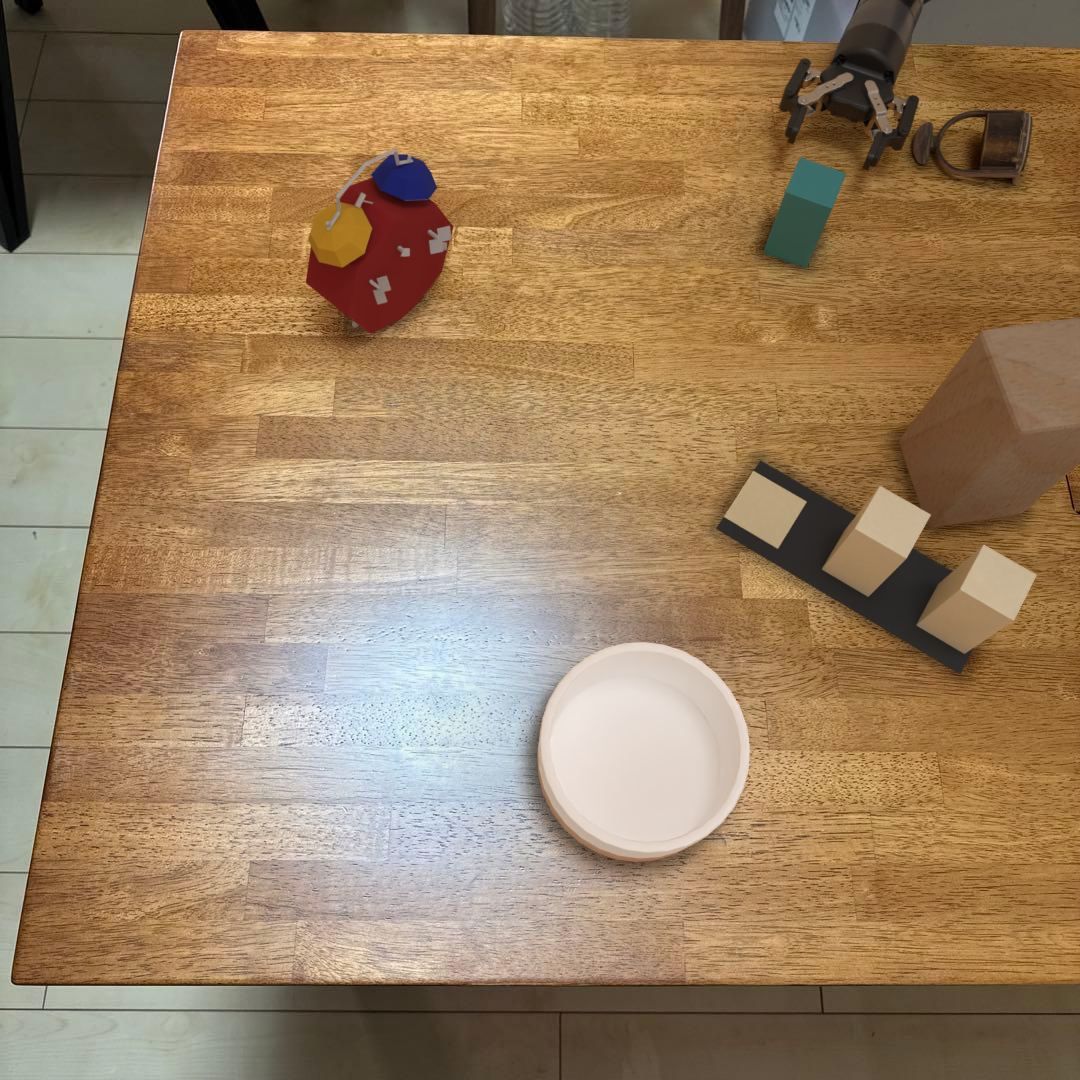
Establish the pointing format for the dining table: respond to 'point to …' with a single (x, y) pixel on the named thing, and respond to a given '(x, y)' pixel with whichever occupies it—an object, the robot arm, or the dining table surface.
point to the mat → (808, 540)
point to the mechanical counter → (984, 143)
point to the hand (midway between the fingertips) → (829, 151)
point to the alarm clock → (380, 243)
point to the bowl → (642, 751)
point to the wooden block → (999, 425)
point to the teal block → (804, 212)
